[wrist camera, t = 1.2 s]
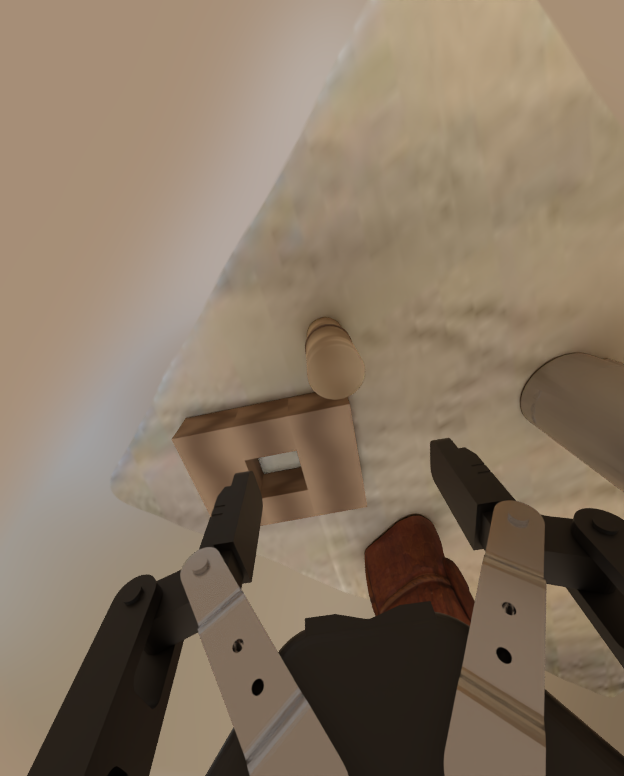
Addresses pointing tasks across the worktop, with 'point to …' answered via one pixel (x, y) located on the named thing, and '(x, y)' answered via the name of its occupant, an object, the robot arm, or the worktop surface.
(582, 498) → the worktop surface
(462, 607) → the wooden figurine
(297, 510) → the wooden board with hole
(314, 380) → the beech peg
